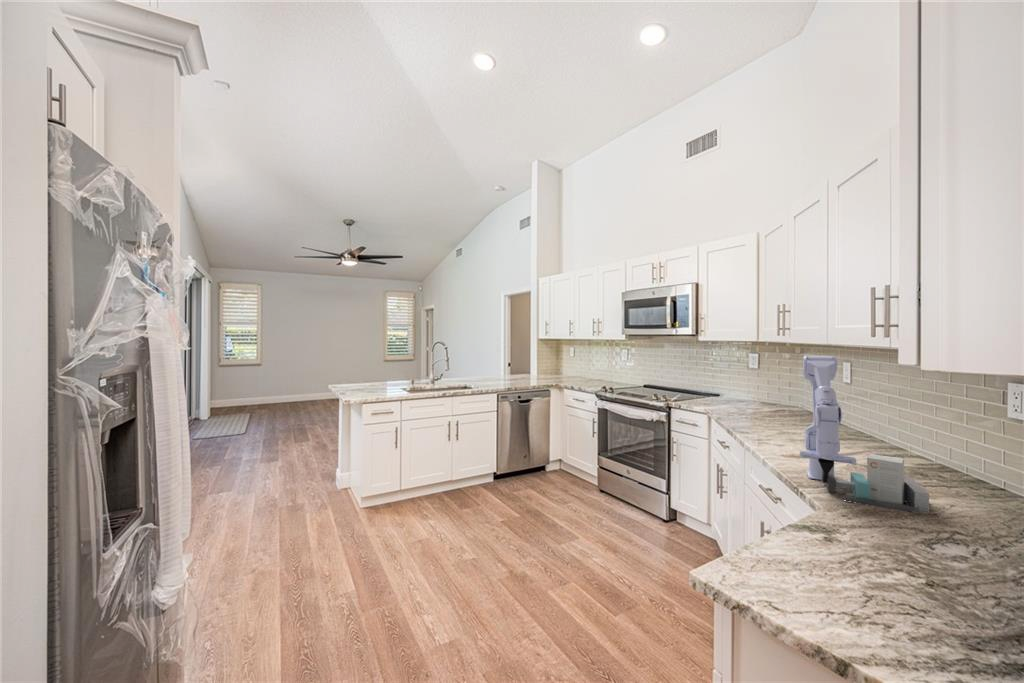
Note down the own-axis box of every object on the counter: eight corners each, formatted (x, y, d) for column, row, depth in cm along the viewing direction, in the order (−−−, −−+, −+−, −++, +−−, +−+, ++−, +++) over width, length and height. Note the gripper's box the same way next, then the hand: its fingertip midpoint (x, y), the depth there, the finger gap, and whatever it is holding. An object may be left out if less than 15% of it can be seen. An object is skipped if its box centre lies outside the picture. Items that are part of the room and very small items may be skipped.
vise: (835, 485, 139) (835, 468, 139) (911, 496, 129) (911, 477, 129) (844, 501, 126) (844, 481, 126) (929, 514, 116) (929, 493, 116)
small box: (904, 500, 126) (904, 458, 125) (902, 506, 121) (902, 463, 121) (870, 493, 132) (870, 453, 132) (866, 498, 128) (866, 457, 127)
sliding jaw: (824, 485, 139) (824, 469, 139) (862, 490, 134) (862, 473, 133) (829, 496, 129) (829, 479, 129) (870, 502, 124) (870, 484, 124)
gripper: (801, 440, 134) (800, 481, 134) (858, 447, 126) (857, 490, 127) (799, 436, 140) (798, 475, 140) (853, 442, 133) (852, 483, 133)
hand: (826, 482), depth 134 cm, fingers closed, pressing on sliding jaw
